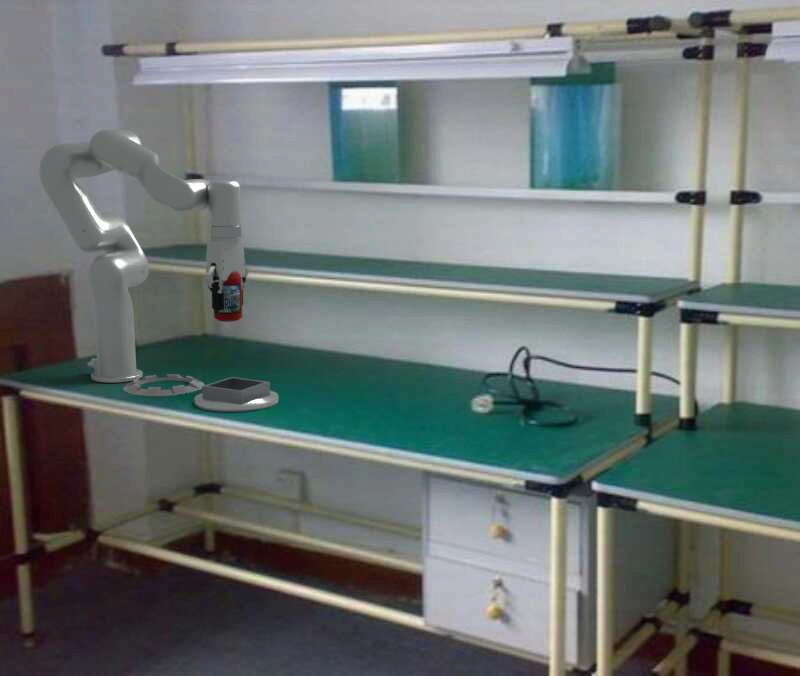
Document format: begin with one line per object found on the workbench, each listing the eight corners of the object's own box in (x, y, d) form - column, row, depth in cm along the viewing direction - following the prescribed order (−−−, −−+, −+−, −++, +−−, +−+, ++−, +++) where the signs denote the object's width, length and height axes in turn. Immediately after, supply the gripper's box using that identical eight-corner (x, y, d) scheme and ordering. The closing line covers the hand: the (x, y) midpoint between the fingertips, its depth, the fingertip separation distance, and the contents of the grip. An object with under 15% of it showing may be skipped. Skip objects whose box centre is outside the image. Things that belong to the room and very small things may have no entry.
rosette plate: (177, 405, 257) (176, 387, 256) (229, 389, 273) (228, 372, 272) (245, 416, 248) (244, 397, 247) (294, 398, 264) (294, 380, 263)
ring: (220, 385, 279) (220, 377, 279) (168, 401, 263) (168, 393, 262) (160, 377, 289) (159, 369, 288) (106, 392, 272) (105, 384, 272)
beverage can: (211, 322, 270) (210, 272, 267) (216, 317, 276) (215, 268, 274) (240, 322, 269) (238, 272, 267) (244, 317, 276) (243, 268, 274)
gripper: (234, 229, 278) (236, 301, 281) (189, 235, 263) (192, 311, 266) (259, 230, 275) (261, 303, 278) (215, 236, 260) (218, 313, 263)
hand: (227, 306), depth 272 cm, fingers closed on beverage can, 6 cm apart
